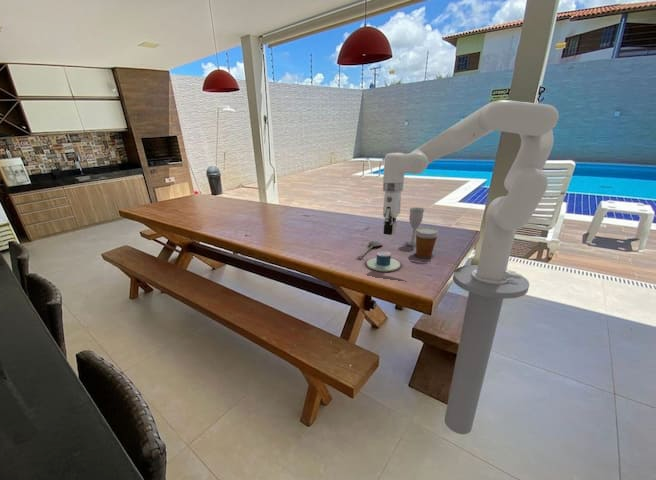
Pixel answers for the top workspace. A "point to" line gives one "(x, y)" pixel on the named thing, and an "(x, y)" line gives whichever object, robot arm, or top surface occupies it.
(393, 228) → the cylinder
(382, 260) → the cylinder
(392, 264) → the saucer
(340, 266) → the top surface
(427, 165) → the robot arm
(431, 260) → the top surface
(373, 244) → the soupspoon
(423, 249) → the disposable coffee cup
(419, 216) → the chalice
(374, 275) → the top surface
